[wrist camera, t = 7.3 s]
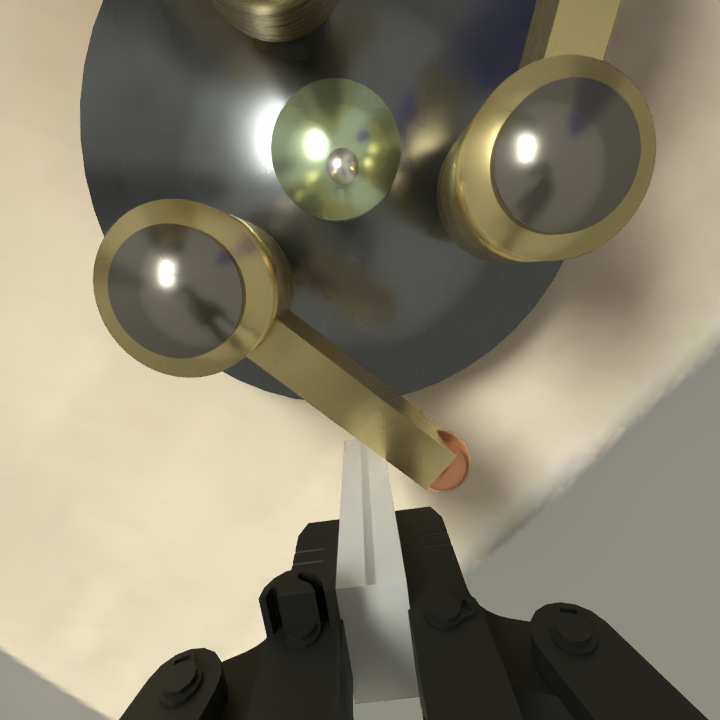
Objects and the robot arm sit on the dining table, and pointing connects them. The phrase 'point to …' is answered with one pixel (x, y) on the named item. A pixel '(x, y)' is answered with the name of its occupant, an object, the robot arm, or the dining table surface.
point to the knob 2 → (551, 147)
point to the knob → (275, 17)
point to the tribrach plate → (320, 161)
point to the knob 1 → (250, 328)
